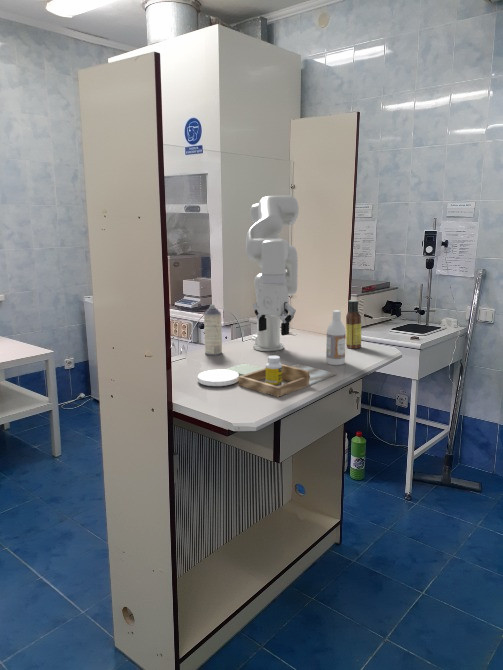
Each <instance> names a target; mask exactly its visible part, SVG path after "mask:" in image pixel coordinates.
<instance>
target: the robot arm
mask: <svg viewBox="0 0 503 670" xmlns="http://www.w3.org/2000/svg"><path fill="white" fill-rule="evenodd" d="M249 211H250V218H251V219H250V220H251V221H252V224H253V225H252V226H251V227H250V228H249V229H248V231H247V234H246V236H245V254H246V257H247V259H248V260H249V262H255V263H257V264H258V266H259V268H260V269H261V273H258V274H257V275H255V278H254V280H253V281H254V284H253V285H254V291H255V298H256V299H255V300H256V302H255V303H253V304H252V308H253V310H254V314H255V315H256V334H254V335H253V336H252V337H251V341H253V342H255V343H254V344H253V349H254V350H256V351H260V352H277V351H280V350H283V349H284V344H283V343H282V342H281V336H286V335H287V336H288V335H290V323H291V322H292V320H293V319H294V316H295V314H296V309H295V307H293V306H292V305H290V301H289V300H290V299H289V296H294V295H296V293H297V290H298V261H299V260H298V251H297V249H296V248H295V246H293V245H290V243H289V242H288V241H287V239H285V238H280V236H279V235H280V234H281V232H282V230H283V229H284V228H283V227H284V226H293V225H294V224H295V223H296V221H297V218H298V216H299V202H298V200H297V198H296V197H294V196H293V195H267V196H263V197H262V198H261V199H260V200H259V201H258V203H254V204H252V205H251V206H250V210H249Z"/></svg>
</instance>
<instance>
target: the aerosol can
mask: <svg viewBox="0 0 503 670" xmlns="http://www.w3.org/2000/svg"><path fill="white" fill-rule="evenodd" d="M215 306H216V305H215V304H209V308H208V309H207V310H206V311H204V314H203V319H204V320H203V323H204V327H203V329H204V354H205V355H206V356H213V357H214V356H221V355H222V354H223V338H222V337H223V336H222V335H223V333H222V332H223V331H222V313H221V311H220V310H219V309H217V307H215Z"/></svg>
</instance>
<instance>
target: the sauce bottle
mask: <svg viewBox="0 0 503 670" xmlns="http://www.w3.org/2000/svg"><path fill="white" fill-rule="evenodd" d="M347 301H348V302H347V303H348V312H347V314H346V317H345V318H346V319H345V332H346V340H345V346H346V347H347V349H351V350H352V349H353V350H354V349H356V350H357V349H360V348H361V347H362V316H361V314H360V311H359V300H357V299H349V300H347Z"/></svg>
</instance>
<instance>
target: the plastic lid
mask: <svg viewBox="0 0 503 670" xmlns="http://www.w3.org/2000/svg"><path fill="white" fill-rule="evenodd" d="M226 369H227V368H225V369H222V368H220V369H209V370H204V371H201V372H200V373H198V375H197V382H198V383H199V384H201V385H204V386H208V387H223V386H225V387H226V386H230V385H233V384H236V383H237V382H238V383H239V374H238V373H237V372H235V371H232V370H226Z"/></svg>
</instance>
